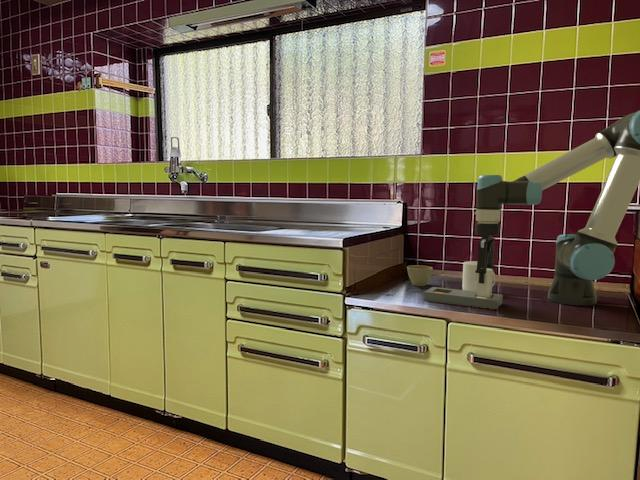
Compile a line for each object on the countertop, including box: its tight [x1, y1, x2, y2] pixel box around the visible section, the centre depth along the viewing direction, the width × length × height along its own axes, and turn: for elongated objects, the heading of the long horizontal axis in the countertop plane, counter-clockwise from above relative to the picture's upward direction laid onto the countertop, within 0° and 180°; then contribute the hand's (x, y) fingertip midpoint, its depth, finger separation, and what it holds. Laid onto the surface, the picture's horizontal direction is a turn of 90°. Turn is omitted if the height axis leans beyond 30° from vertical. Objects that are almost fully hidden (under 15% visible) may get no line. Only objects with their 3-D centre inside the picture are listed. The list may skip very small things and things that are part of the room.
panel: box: [423, 286, 504, 310], centre depth 166 cm, size 24×10×3 cm, turn 60°
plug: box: [475, 268, 494, 298], centre depth 162 cm, size 5×4×12 cm
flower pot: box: [406, 265, 434, 287], centre depth 194 cm, size 10×10×7 cm
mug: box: [461, 260, 497, 292], centre depth 182 cm, size 9×12×11 cm
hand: (484, 290), depth 162 cm, fingers open, 8 cm apart
